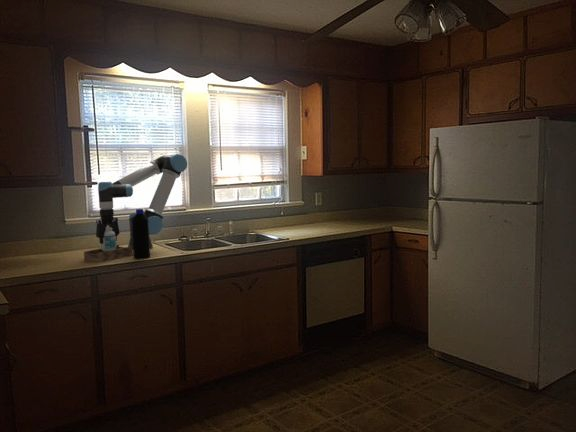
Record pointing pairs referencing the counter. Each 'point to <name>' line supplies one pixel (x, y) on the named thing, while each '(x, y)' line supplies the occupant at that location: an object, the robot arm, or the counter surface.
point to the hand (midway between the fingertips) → (108, 247)
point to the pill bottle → (109, 239)
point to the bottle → (140, 235)
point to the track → (107, 254)
